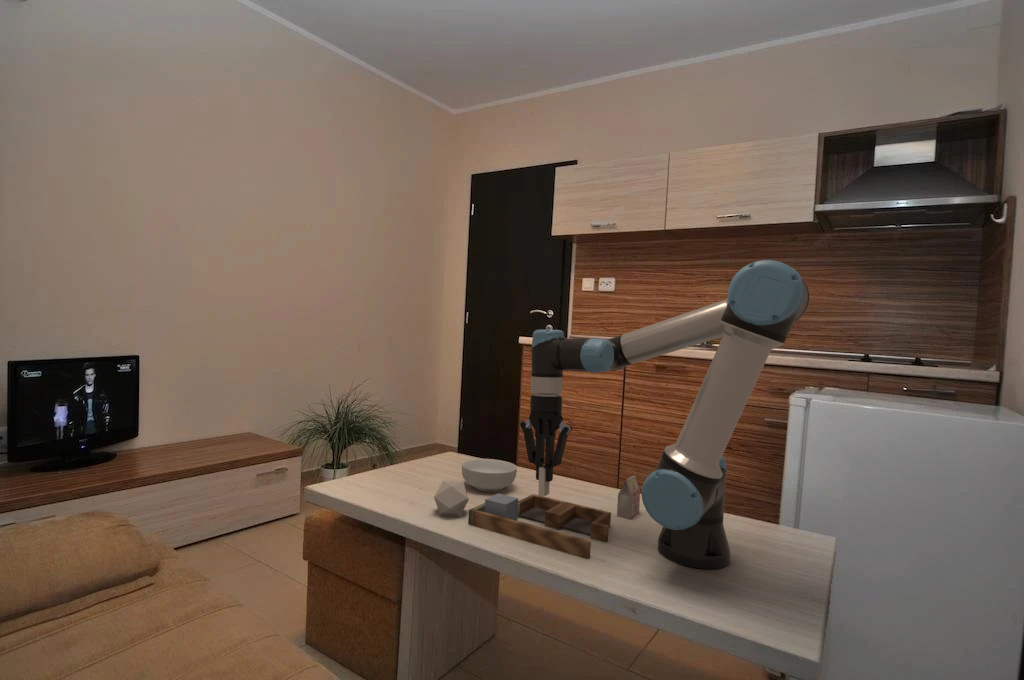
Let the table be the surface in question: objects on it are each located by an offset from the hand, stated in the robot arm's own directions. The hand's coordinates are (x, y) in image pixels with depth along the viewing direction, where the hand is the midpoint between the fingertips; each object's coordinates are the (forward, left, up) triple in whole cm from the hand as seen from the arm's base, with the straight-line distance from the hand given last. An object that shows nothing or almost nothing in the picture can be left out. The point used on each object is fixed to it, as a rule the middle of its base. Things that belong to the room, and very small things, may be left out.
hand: (543, 494), depth 119 cm
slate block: (+11, 0, -10) cm, 15 cm away
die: (+25, +3, -10) cm, 27 cm away
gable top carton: (-12, -27, -10) cm, 31 cm away
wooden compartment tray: (+1, -5, -9) cm, 11 cm away
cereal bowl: (+30, -22, -10) cm, 38 cm away
